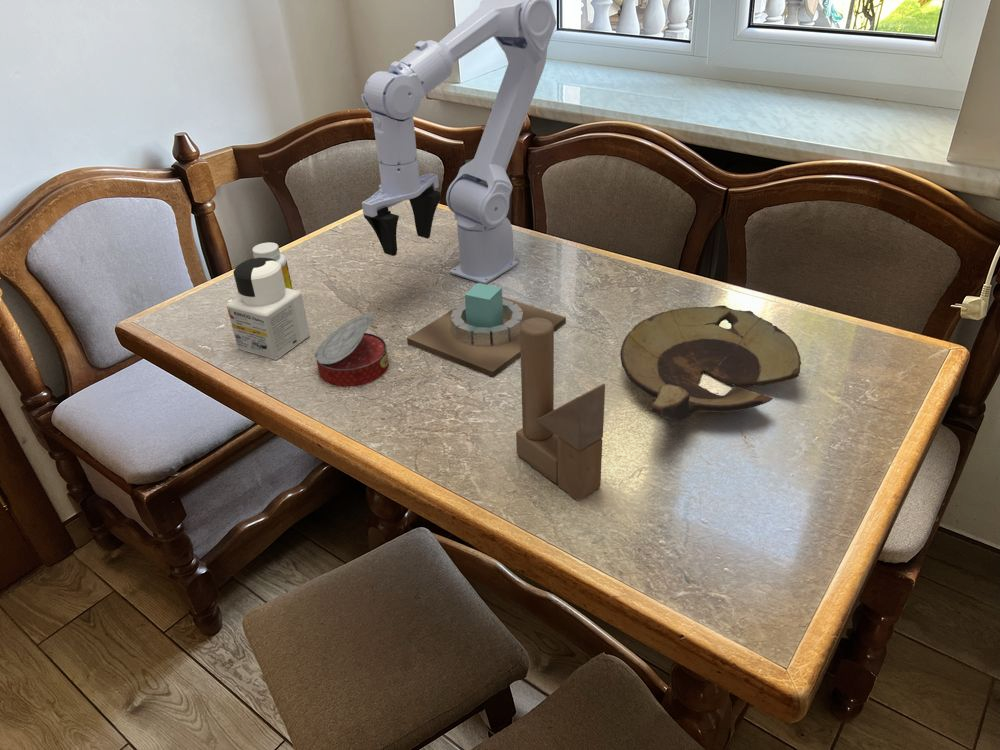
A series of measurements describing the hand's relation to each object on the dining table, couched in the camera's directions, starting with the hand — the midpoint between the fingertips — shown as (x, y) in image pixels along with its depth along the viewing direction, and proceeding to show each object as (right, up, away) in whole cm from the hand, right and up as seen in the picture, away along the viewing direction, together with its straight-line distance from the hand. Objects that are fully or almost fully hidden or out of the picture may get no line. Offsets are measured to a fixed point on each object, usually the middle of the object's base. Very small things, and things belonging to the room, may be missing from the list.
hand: (407, 245), depth 121 cm
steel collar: (+13, -14, -5) cm, 20 cm away
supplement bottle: (-22, -9, +5) cm, 24 cm away
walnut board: (+13, -14, -5) cm, 20 cm away
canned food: (-6, -19, -11) cm, 23 cm away
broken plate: (+40, -22, -18) cm, 49 cm away
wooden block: (+21, -32, -31) cm, 49 cm away
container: (-19, -16, -5) cm, 25 cm away
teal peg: (+12, -13, -5) cm, 19 cm away
